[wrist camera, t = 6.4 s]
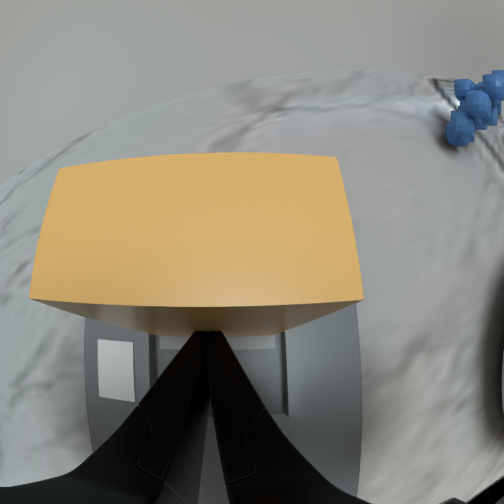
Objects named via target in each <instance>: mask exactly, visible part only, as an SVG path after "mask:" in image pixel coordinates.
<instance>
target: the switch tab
mask: <svg viewBox="0 0 504 504" xmlns="http://www.w3.org/2000/svg"><path fill="white" fill-rule="evenodd" d="M29 298H30V299H32V300H35V301H38V302H41V303H44V304H46V305H49V306H52V307H55V308H58V309H61V310H64V311H68V312H71V313H74V314H77V315H80V316H84V317H87V318H91V319H94V320H98V321H101V322H105V323H109V324H113V325H116V326H120V327H124V328H128V329H133V330H137V331H141V332H146V333H150V334H155V335H159V336H160V349H174V350H180V349H181V348H182V346H183V345H184V344H185V343H186V341H187V340H188V339H189V337H190V336H191V335H192V333H193V332H194V331H208V332H209V331H222V332H223V334H224V336H225V337H226V339H227V341H228V343H229V345H230V346H231V348H232V350H248V349H270V348H275V334H278V333H280V332H283V331H286V330H289V329H292V328H294V327H297V326H300V325H302V324H305V323H308V322H310V321H313V320H316V319H318V318H321V317H323V316H326V315H328V314H331V313H333V312H336V311H338V310H341V309H343V308H345V307H348V306H350V305H352V304H355V303H357V302H359V301H362V300H364V296H363V288H362V281H361V273H360V267H359V260H358V254H357V248H356V242H355V237H354V231H353V226H352V221H351V216H350V211H349V207H348V202H347V198H346V193H345V189H344V185H343V180H342V176H341V172H340V168H339V164H338V161H337V157H327V156H315V155H300V154H280V153H195V154H175V155H160V156H148V157H137V158H128V159H119V160H111V161H103V162H96V163H89V164H83V165H77V166H71V167H65V168H60V169H59V171H58V174H57V177H56V180H55V183H54V186H53V189H52V192H51V195H50V198H49V202H48V205H47V208H46V212H45V216H44V220H43V223H42V227H41V232H40V236H39V240H38V245H37V250H36V255H35V260H34V266H33V272H32V279H31V287H30V295H29Z"/></svg>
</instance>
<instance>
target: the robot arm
mask: <svg viewBox="0 0 504 504" xmlns="http://www.w3.org/2000/svg"><path fill="white" fill-rule="evenodd" d="M210 400H211V407H212V414H213V420H214V426H215V432H216V438H217V444H218V449H219V455H220V460H221V465H222V471H223V476H224V480H225V485H226V490H227V495H228V499H229V504H371V503H369V502H367V501H364V500H362V499H360V498H357V497H355V496H353V495H351V494H349V493H346V492H344V491H343V490H341V489H339V488H338V487H336V486H335V485H333V484H332V483H331V482H330V481H328V480H327V479H326V478H325V477H324V476H323V475H322V474H321V473H320V472H319V471H318V470H317V469H316V468H315V467H314V466H313V465H312V464H311V463H310V462H309V461H308V460H307V459H306V458H305V457H304V456H303V455H302V454H301V453H300V451H299V450H298V449H297V448H296V447H295V446H294V445H293V444H292V443H291V441H290V440H289V439H288V438H287V437H286V435H285V434H284V433H283V432H282V430H281V429H280V427H279V426H278V425H277V423H276V422H275V420H274V419H273V417H272V416H271V414H270V412H269V411H268V409H266V406H265V405H264V403H263V401H262V400H261V398H260V396H259V395H258V393H257V391H256V390H255V388H254V386H253V385H252V383H251V381H250V380H249V378H248V376H247V375H246V373H245V371H244V369H243V368H242V366H241V364H240V362H239V361H238V359H237V357H236V355H235V354H234V352H233V350H232V348H231V346H230V345H229V343H228V341H227V339H226V337H225V336H224V334H223V332H222V331H209V332H208V331H194V332H193V333H192V335H191V336H190V337H189V339H188V340H187V341H186V343H185V344H184V345H183V346H182V348H181V349H180V350H179V352H178V353H177V354H176V355H175V357H174V358H173V359H172V361H171V362H170V363H169V364H168V366H167V367H166V368H165V370H164V371H163V372H162V374H161V375H160V376H159V377H158V379H157V380H156V381H155V383H154V384H153V385H152V386H151V388H150V389H149V390H148V392H147V393H146V394H145V395H144V397H143V398H142V399H141V401H140V402H139V403H138V406H139V407H138V406H136V407H135V408H134V409H133V411H132V412H131V413H130V414H129V416H128V417H127V418H126V419H125V420H124V422H123V423H122V424H121V425H120V426H119V427H118V429H117V430H116V431H115V432H114V433H113V434H112V435H111V436H110V437H109V438H108V439H107V440H106V441H105V442H104V443H103V444H102V445H101V446H100V447H99V448H97V449H96V450H95V451H94V452H93V453H92V454H91V455H90V456H89V457H88V458H87V459H86V460H85V461H84V462H83V463H82V464H80V465H79V466H78V467H77V468H75V469H74V470H72V471H71V472H69V473H67V474H64V475H62V476H58V477H54V478H50V479H46V480H42V481H38V482H33V483H28V484H23V485H18V486H12V487H0V504H198V500H199V490H200V481H201V472H202V463H203V454H204V445H205V437H206V429H207V421H208V413H209V405H210ZM440 504H504V476H502V477H501V478H499V479H498V480H496V481H495V482H494V483H492V484H491V485H489V486H488V487H487V488H485V489H484V490H482V491H481V492H480V493H478V494H477V495H475V496H474V497H473V498H471V499H470V500H468V501H467V502H463V501H461V500H459V499H456V498H450V499H448V500H446V501H444V502H442V503H440Z"/></svg>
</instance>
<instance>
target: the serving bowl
mask: <svg viewBox="0 0 504 504" xmlns="http://www.w3.org/2000/svg"><path fill="white" fill-rule="evenodd" d="M502 403H503V412H504V352H503V364H502Z"/></svg>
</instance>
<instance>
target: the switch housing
mask: <svg viewBox="0 0 504 504" xmlns="http://www.w3.org/2000/svg"><path fill="white" fill-rule="evenodd" d="M178 352H179V350H174V349H160V336H159V335H155V334H150V333H146V332H141V331H137V330H133V329H128V328H124V327H120V326H116V325H113V324H109V323H105V322H101V321H98V320H94V319H91V318H87V317H85V337H84V364H85V388H86V402H87V412H88V421H89V429H90V436H91V443H92V449H93V452H94V451H95V450H96V449H97V448H99V447H100V446H101V445H102V444H103V443H104V442H105V441H106V440H107V439H108V438H109V437H110V436H111V435H112V434H113V433H114V432H115V431H116V430H117V429H118V427H119V426H120V425H121V424H122V423H123V422H124V420H125V419H126V418H127V417H128V416H129V414H130V413H131V412H132V411H133V409H134V408H135V407H136V406H138V403H139V402H140V401H141V399H142V398H143V397H144V395H145V394H146V393H147V392H148V390H149V389H150V388H151V386H152V385H153V384H154V383H155V381H156V380H157V379H158V377H159V376H160V375H161V374H162V372H163V371H164V370H165V368H166V367H167V366H168V364H169V363H170V362H171V361H172V359H173V358H174V357H175V355H176V354H177V353H178ZM233 352H234V354H235V355H236V357H237V359H238V361H239V362H240V364H241V366H242V368H243V369H244V371H245V373H246V375H247V376H248V378H249V380H250V381H251V383H252V385H253V386H254V388H255V390H256V391H257V393H258V395H259V396H260V398H261V400H262V401H263V403H264V405H265V406H266V409H268V411H269V412H270V414H271V416H272V417H273V419H274V420H275V422H276V423H277V425H278V426H279V427H280V429H281V430H282V432H283V433H284V434H285V435H286V437H287V438H288V439H289V440H290V441H291V443H292V444H293V445H294V446H295V447H296V448H297V449H298V450H299V451H300V453H301V454H302V455H303V456H304V457H305V458H306V459H307V460H308V461H309V462H310V463H311V464H312V465H313V466H314V467H315V468H316V469H317V470H318V471H319V472H320V473H321V474H322V475H323V476H324V477H325V478H326V479H327V480H328V481H330V482H331V483H332V484H333V485H335V486H336V487H338V488H339V489H341V490H343V491H344V492H346V493H349V494H351V495H353V496H355V497H357V492H358V482H359V470H360V455H361V430H362V388H361V362H360V345H359V332H358V320H357V310H356V303H355V304H352V305H350V306H348V307H345V308H343V309H341V310H338V311H336V312H333V313H331V314H328V315H326V316H323V317H321V318H318V319H316V320H313V321H310V322H308V323H305V324H302V325H300V326H297V327H294V328H292V329H289V330H286V331H283V332H280V333H278V334H275V348H270V349H248V350H233ZM138 407H139V406H138ZM198 504H229V499H228V495H227V490H226V485H225V480H224V476H223V471H222V465H221V460H220V455H219V449H218V444H217V438H216V432H215V426H214V420H213V414H212V407H211V400H210V405H209V413H208V421H207V429H206V437H205V445H204V454H203V463H202V472H201V481H200V490H199V500H198Z"/></svg>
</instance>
